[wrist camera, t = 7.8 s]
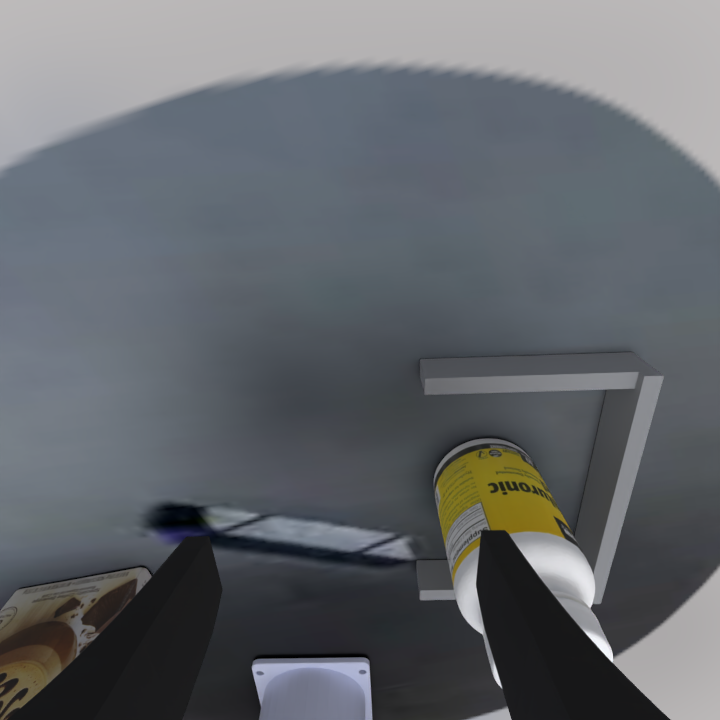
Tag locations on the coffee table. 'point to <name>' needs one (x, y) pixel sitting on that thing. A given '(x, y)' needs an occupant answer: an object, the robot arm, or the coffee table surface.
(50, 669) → the coffee box
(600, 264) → the coffee table surface
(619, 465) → the rail
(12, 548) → the coffee table surface
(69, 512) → the coffee table surface
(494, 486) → the supplement bottle
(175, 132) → the coffee table surface
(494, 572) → the robot arm
